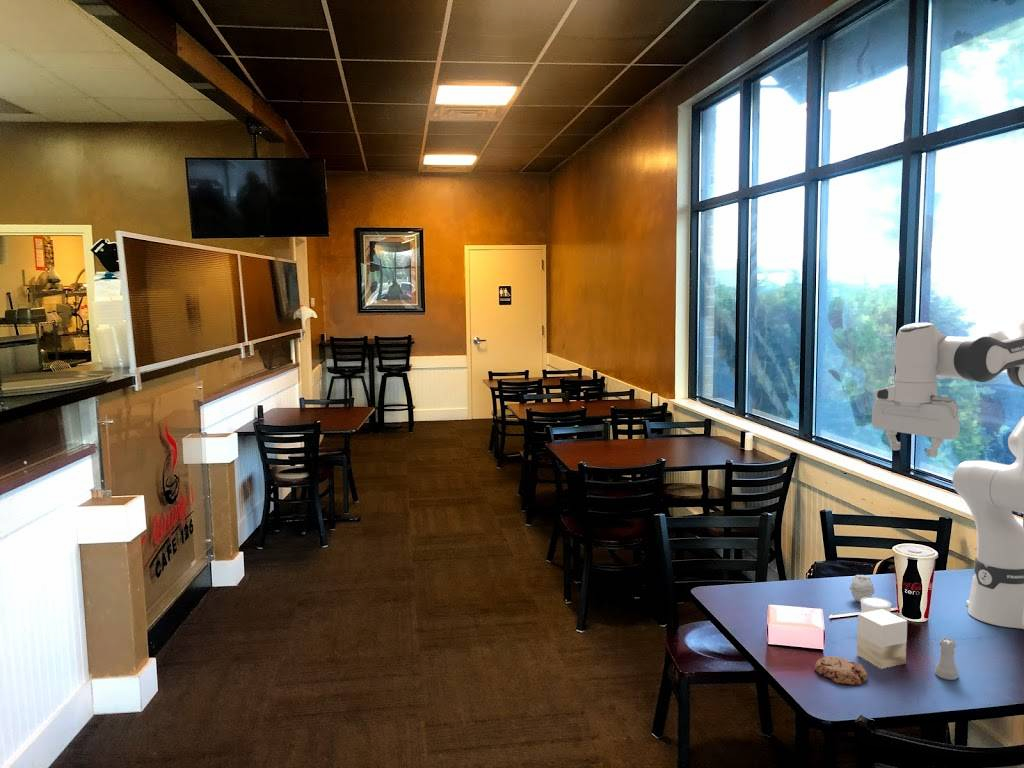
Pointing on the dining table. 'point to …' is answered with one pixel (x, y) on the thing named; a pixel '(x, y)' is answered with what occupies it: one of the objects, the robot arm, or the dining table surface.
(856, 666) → the cookie
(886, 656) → the lower block
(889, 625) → the upper block
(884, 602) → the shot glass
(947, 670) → the rook chess piece
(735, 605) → the dining table surface
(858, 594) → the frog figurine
